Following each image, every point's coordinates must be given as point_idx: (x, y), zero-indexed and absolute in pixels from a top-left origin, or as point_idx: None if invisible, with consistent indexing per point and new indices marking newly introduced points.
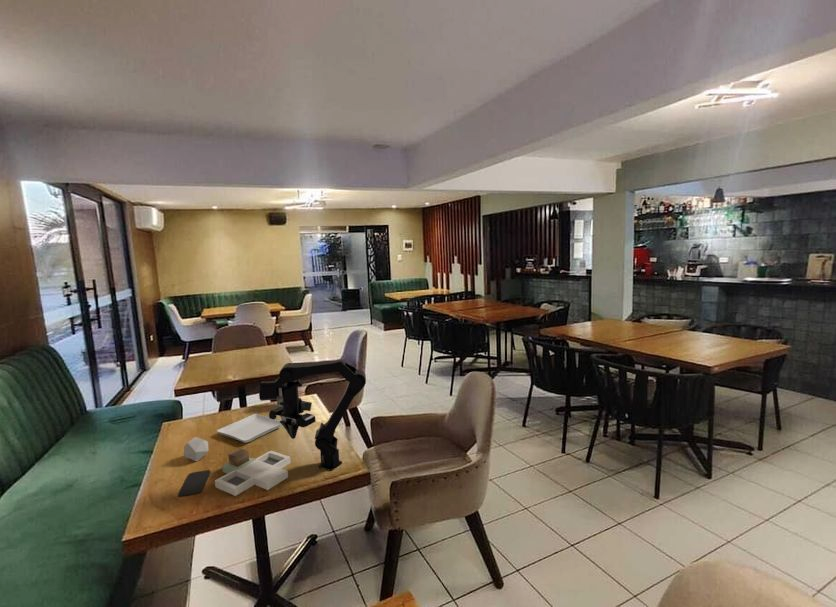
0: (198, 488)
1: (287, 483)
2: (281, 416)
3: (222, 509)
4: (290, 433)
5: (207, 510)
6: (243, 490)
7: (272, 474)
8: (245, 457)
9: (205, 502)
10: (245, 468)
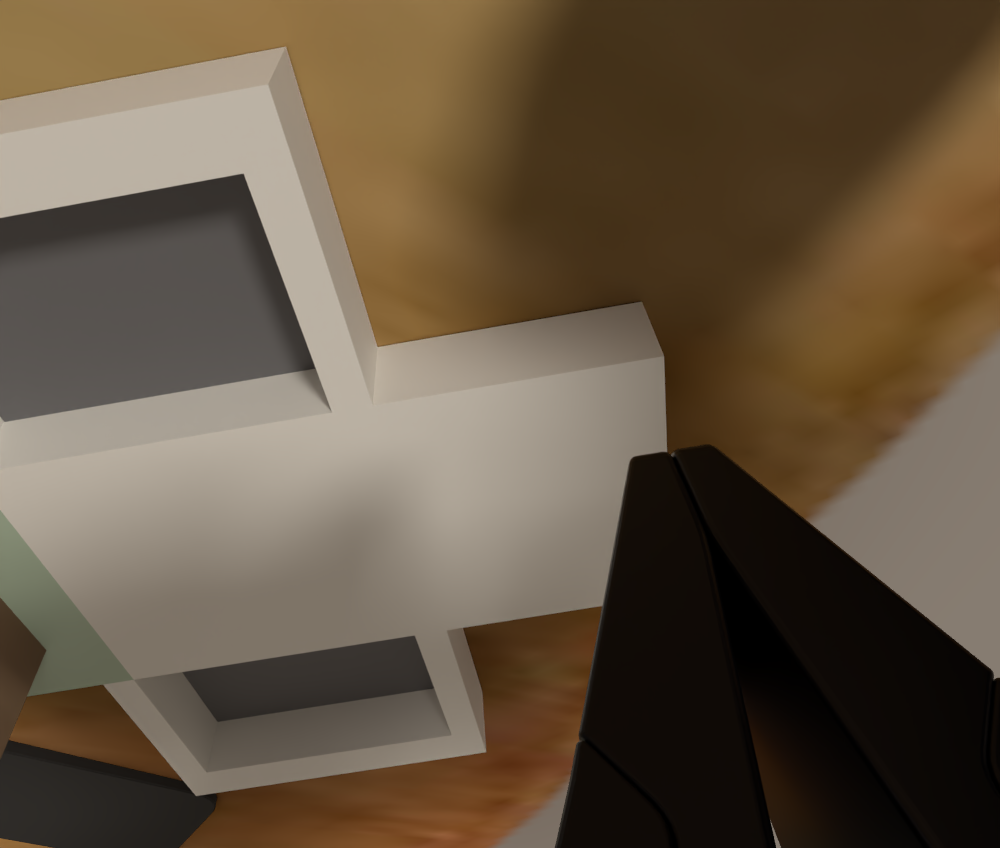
0: (148, 801)
1: (747, 370)
2: None
3: (567, 762)
4: (769, 789)
5: (491, 802)
6: (468, 649)
7: (560, 503)
8: None
9: (381, 795)
10: (151, 618)
